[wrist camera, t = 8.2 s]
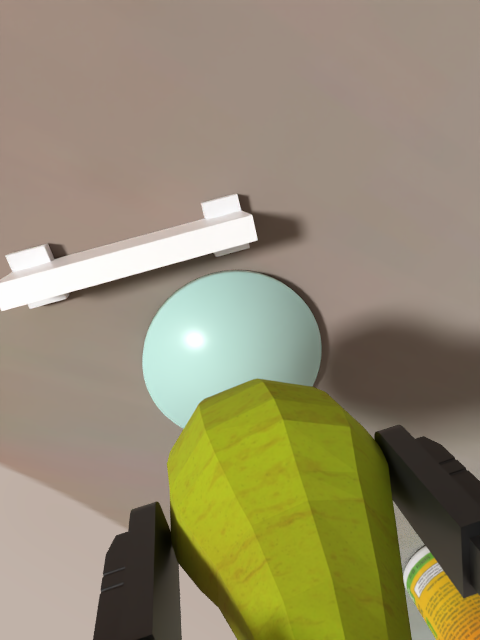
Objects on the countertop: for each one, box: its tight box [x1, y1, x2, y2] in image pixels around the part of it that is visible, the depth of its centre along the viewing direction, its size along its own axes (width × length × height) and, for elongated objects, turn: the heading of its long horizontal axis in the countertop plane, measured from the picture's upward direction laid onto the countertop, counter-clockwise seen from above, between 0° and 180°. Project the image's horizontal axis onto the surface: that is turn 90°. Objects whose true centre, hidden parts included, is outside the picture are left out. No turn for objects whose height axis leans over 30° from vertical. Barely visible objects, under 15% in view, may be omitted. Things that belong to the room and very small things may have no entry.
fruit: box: [167, 378, 412, 640], centre depth 9 cm, size 6×6×12 cm
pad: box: [143, 270, 322, 428], centre depth 20 cm, size 9×9×1 cm
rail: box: [0, 194, 258, 311], centre depth 17 cm, size 10×2×3 cm, turn 104°
